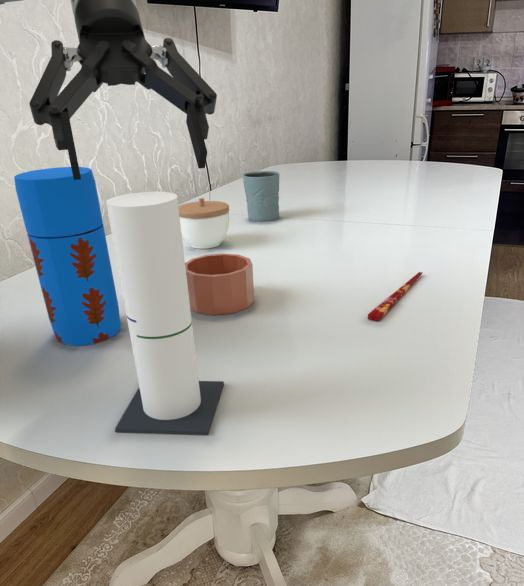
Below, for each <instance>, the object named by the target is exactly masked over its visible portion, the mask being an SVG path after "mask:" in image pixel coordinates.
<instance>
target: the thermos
mask: <svg viewBox="0 0 524 586" xmlns="http://www.w3.org/2000/svg"><path fill="white" fill-rule="evenodd" d="M79 170H80V176H81V179H80V180H74V178H73V173H72V169H71V166H61V167H60V166H59V167H51V168H50V167H47V168H40V169H33V170H29V171H24V172H21V173H18V174H16V175H14V177H13V178H14V186H15V192H16V196H17V200H18V204H19V208H20V211H21V215H22V219H23V223H24V227H25V231H26V236H27V239H28V243H29V247H30V250H31V254H32V259H33V263H34V266H35V270H36V274H37V278H38V281H39V285H40V288H41V289H40V291H41V294H42V296H43V301H44V305H45V309H46V312H47V316H48V321H49V322H50V326H51V329H52V332H53V334H54V337H55V339H56V342H58V343H60V344H62V345H66V346H73V347H75V346H88V345H93V344H98V343H101V342H104V341H107V340H109V339H111V338H113V337H114V336H116V335H117V334H118V333H119V332H120V331H121V325H122V323H121V316H120V309H119V301H118V297H117V296H118V295H117V291H116V286H115V280H114V279H115V278H114V274H113V268H112V263H111V259H110V252H109V247H108V241H107V237H106V232H105V226H104V223H103V215H102V210H101V205H100V199H99V195H98V194H99V193H98V188H97V184H96V183H97V182H96V179H95V176H94V173H93V170H92V168H90V167H85V166H79Z"/></svg>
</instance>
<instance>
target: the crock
mask: <svg viewBox="0 0 524 586" xmlns="http://www.w3.org/2000/svg"><path fill="white" fill-rule="evenodd" d="M185 268H186V277H187V285H188V294H189V302H190V311H192V312H195V313H197V314H201V315H202V314H204V315H210V316H217V315H229V314H234V313H237V312H240V311H243V310H246V309H248V308H249V307H250V306H251V305H252V304H253V303H254V302H255V287H254V269H253V268H254V266H253V263H252V260H251V258H249V257H247V256H244V255H242V254H237V253H213V254H205V255H201V256H197V257H193V258H191V259H189V260H188V261H185Z"/></svg>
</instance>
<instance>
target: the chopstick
mask: <svg viewBox="0 0 524 586" xmlns="http://www.w3.org/2000/svg"><path fill="white" fill-rule="evenodd" d="M423 273H424V272H423V271H418V272H417V273H416V274H415V275H414V276H412V277H411V278H410V279H409V280H408V281H407V282H405V283H404V284H403V285H402V286H401V287H400V286H399V288H398V289H397V290H395V291H394V292H393V293H392V294H390V296H388V297H387V298H386V299H384V300H383V301H382V302H381V303H379V304H378V305H377V306H376V307H375V308H373V309H372V310H371V311H370V312H369V313H367V319H368V320H371V321H376V322H379V321H381V319H382V318H383V317H384V316H385V315H386V314H387V313H388V312H389V311H390V310H391V309H392V307H394V305H395V304H396V303H397V302H398V301H399V300H400V299H401V298H402V296H403V295H404V294H405V293H406V292H407V291H408V290H410V288H411V287H412V286H413V284H415V282H416V281H417V280H418V279H419V278H420V277H421V276H422V275H423Z"/></svg>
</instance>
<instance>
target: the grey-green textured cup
mask: <svg viewBox="0 0 524 586" xmlns="http://www.w3.org/2000/svg"><path fill="white" fill-rule="evenodd" d="M242 180H243V182H242V183H243V189H244V193H245V201H246V208H247V210H246V211H247V217H248V220H249V221H252V222H259V223H261V222H271V221H275V220H278V219H279V217H280V205H279V201H280V196H279V195H280V193H279V192H280V172H279V171H277V170H276V171H275V170H261V171H260V170H257V171H250V172H245V173H243V174H242Z"/></svg>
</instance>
